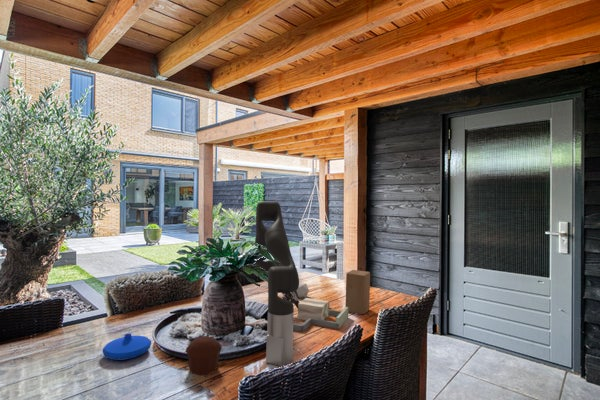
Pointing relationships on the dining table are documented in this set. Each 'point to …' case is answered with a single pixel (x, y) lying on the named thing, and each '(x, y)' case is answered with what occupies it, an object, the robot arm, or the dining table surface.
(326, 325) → the box
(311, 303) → the ash block
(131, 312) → the dining table surface
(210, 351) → the muffin
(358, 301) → the wooden block
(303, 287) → the die
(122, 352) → the blue knobbed lid
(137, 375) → the dining table surface
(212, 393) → the dining table surface
